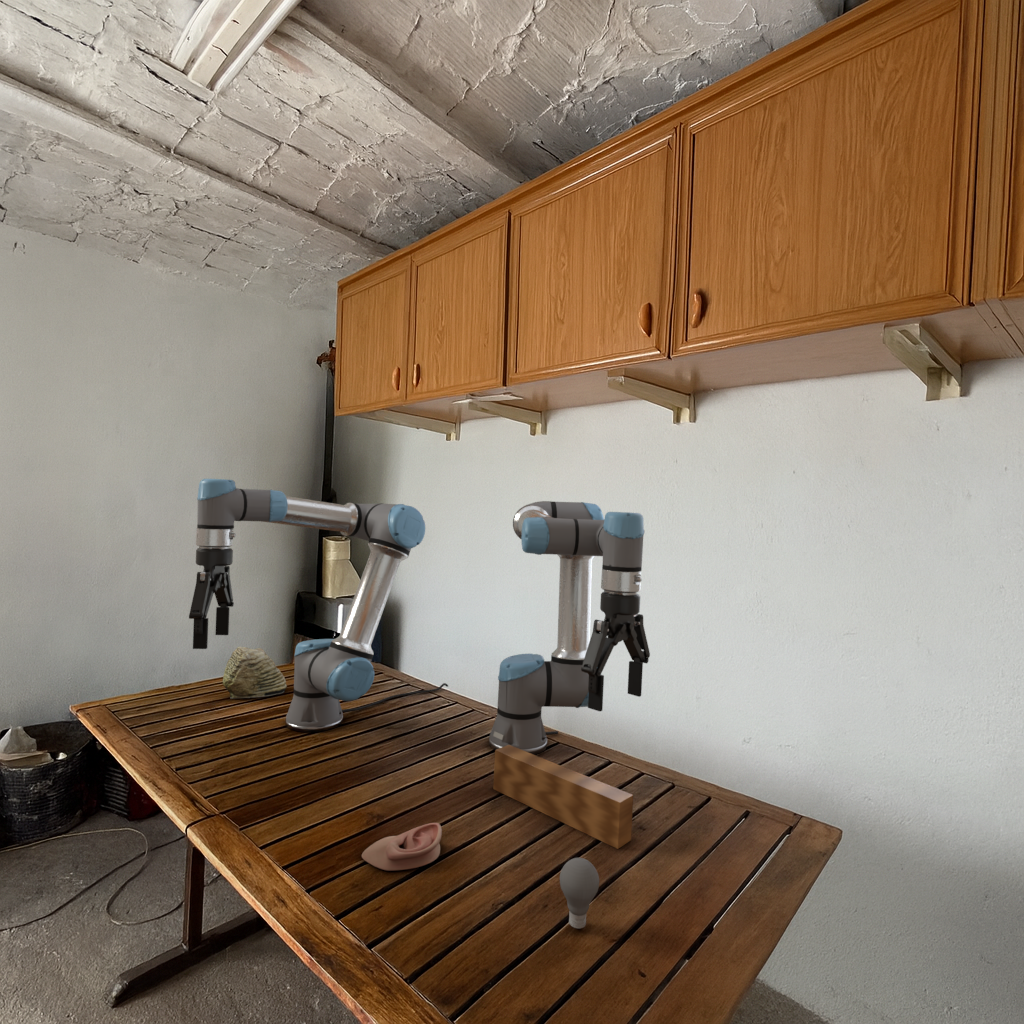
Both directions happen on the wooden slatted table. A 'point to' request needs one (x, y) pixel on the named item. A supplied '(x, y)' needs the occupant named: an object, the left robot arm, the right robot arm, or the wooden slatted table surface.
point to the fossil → (252, 674)
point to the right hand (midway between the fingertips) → (615, 701)
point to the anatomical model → (406, 849)
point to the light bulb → (579, 888)
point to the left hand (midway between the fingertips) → (211, 641)
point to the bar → (565, 795)
